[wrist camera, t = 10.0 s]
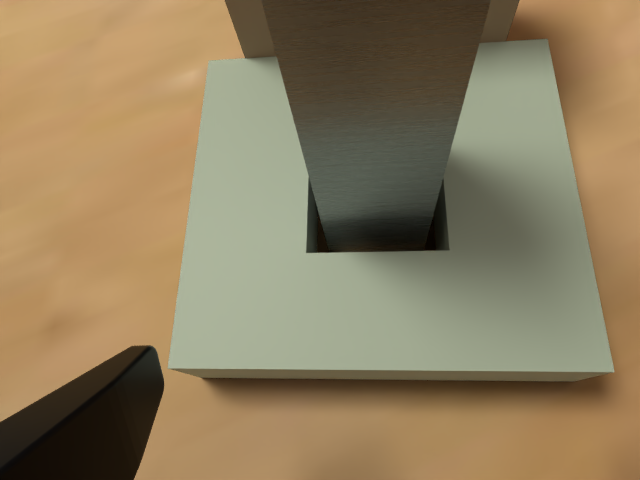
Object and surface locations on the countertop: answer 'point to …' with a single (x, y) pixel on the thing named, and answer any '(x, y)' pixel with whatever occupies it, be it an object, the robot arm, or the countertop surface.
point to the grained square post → (376, 108)
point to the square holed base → (389, 267)
